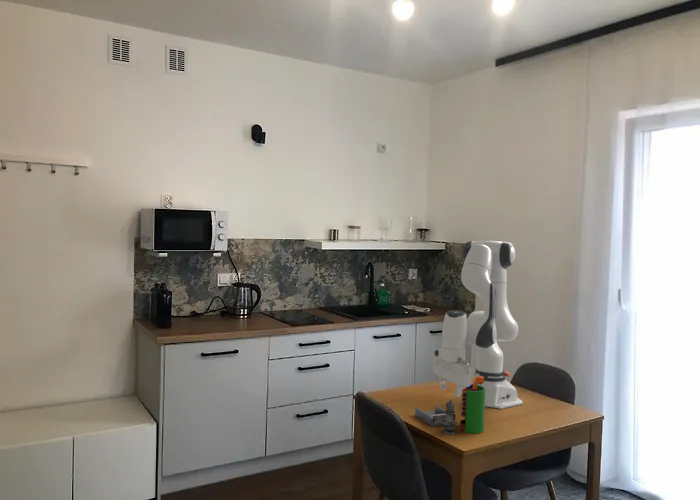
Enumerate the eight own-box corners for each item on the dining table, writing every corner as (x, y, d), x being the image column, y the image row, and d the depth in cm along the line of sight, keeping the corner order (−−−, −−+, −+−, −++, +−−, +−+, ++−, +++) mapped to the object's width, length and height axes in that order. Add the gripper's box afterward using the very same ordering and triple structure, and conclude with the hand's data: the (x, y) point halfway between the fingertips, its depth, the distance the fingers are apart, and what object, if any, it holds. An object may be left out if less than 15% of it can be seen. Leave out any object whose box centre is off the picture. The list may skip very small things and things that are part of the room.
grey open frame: (415, 415, 230) (415, 405, 229) (436, 413, 234) (437, 403, 233) (432, 426, 218) (432, 416, 217) (454, 423, 222) (455, 413, 222)
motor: (456, 423, 222) (459, 372, 221) (478, 424, 223) (481, 372, 222) (463, 433, 212) (466, 379, 211) (487, 433, 213) (490, 380, 212)
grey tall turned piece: (459, 434, 211) (461, 401, 210) (445, 435, 209) (446, 402, 209) (452, 428, 217) (454, 396, 216) (438, 429, 215) (439, 397, 214)
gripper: (477, 361, 203) (474, 400, 204) (445, 349, 222) (442, 384, 223) (462, 362, 201) (459, 401, 201) (431, 349, 220) (428, 385, 220)
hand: (450, 392), depth 212 cm, fingers open, 8 cm apart
